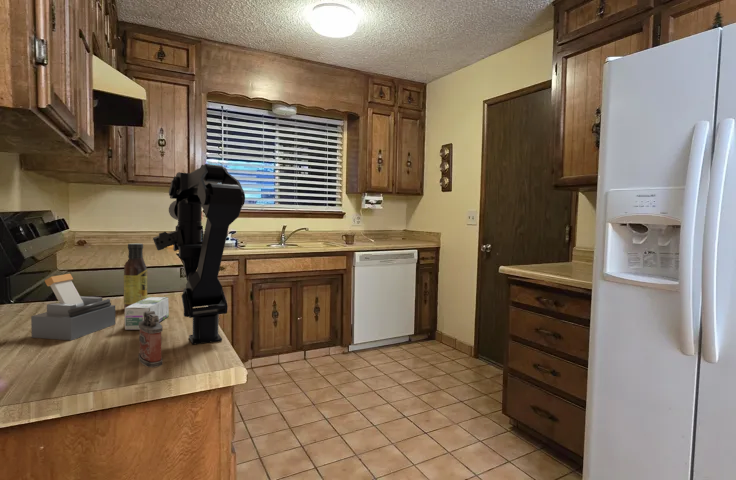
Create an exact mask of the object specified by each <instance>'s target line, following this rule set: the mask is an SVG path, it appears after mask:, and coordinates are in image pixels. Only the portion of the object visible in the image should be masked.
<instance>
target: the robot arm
mask: <svg viewBox="0 0 736 480" xmlns="http://www.w3.org/2000/svg"><path fill="white" fill-rule="evenodd" d="M168 195H169V199H170V200H171V199H173V201H172V202H171V203H170V204H169V207H168V214H169V215H170V217H171V218H172V219H174V220H176V221H177V225H175V230H173V231H169V232H167V231H163V232H160V233H158V235H157V236H153V237H152V241H153V242H154V246H155V248H156V250H157V251H161V250H164V249H165V248H168V247H172V246H173V249H172V250H173V251H174V252H177V251H178V252H177V253H175V255H176V256H177V257H178V258H179V259H180V260H181V261H182V265H183V270H184V274H185V277H186V284H185V288H184V289H183V292H182V294H181V301H182V307H183V317H185V318H190V319H192V334H189V335H188V338H189V340H190V342H191V344H192V345H198V344H207V343H216V342H222V341H223V338H222V337H221V335H220V333H219V316H220V315H221V314H224V315H226V314H227V313H228V303H227V299H226V296H225V293H224V289H223V288H224V286H222V283H221V281H220V278H219V273H220V269H221V264H222V260H223V254H224V251H225V246H226V241H227V236H228V232H229V227H230V225H232V224H233V223H234V221H236V220H237V219H238V218H239V217H240V214H241V211H242V208H243V206H244V205H245V202H246V194H245V191H244V189H243V186H242V184H241V182H240V180H238V179H237V178H235V177H234V176H232V175H231V173H229V172H228V170H227V167H225V166H223V165H222V164H221V165H220V164H210V163H204V164H201V165H200V167H199V168H198V169H197V168H196V169H195V170H194V171H193V170H192V172H177V173H176V174H175V175H174V176H173V178H172V180H171V182H170V185H169V190H168ZM202 209H203V210H202ZM202 211H203V212H204V214H205V216H206V223H205V227H203V225H202V217H203V215H202ZM203 230H204V232H203V238H202V231H203Z"/></svg>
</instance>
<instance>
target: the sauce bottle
mask: <svg viewBox="0 0 736 480" xmlns="http://www.w3.org/2000/svg"><path fill="white" fill-rule="evenodd" d="M127 249H128V256H127V258H128V259H127V260H126V262H125V264H124V268H123V304H124V306H123V308H124V309H125V308H126V307H128V306H130V305H132V304H134V303H136V302H138V301H141V300H143V299H145V298H147V297H148V268H147V265H146V263H145V261H144V258H143V257H144V256H143V249H144V244H143V243H141V242H140V243H139V242H138V243H128V244H127Z"/></svg>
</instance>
